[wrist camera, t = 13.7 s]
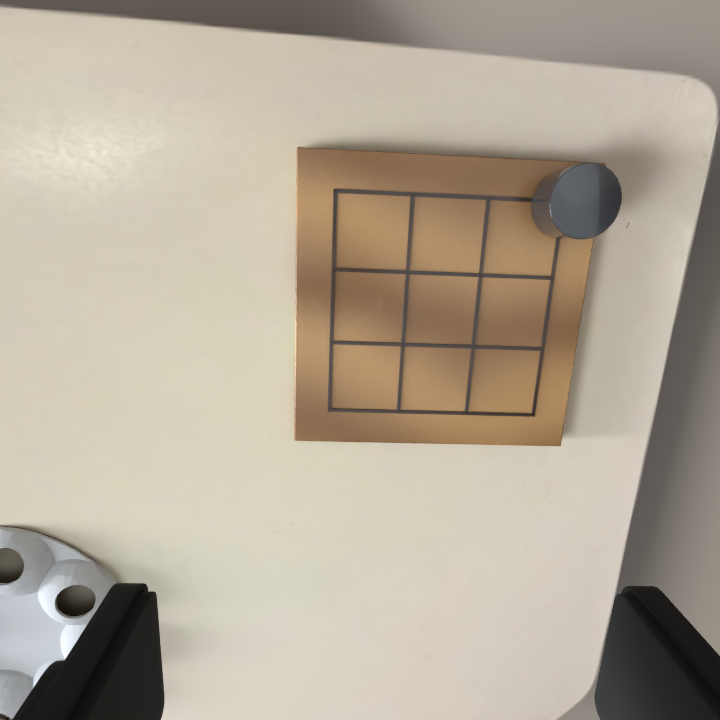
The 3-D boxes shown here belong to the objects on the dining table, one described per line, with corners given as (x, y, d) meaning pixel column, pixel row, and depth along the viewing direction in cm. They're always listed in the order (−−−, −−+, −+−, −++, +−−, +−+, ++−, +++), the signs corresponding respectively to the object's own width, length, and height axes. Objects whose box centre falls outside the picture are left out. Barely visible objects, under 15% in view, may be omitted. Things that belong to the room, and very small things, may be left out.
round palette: (183, 655, 41) (175, 676, 40) (5, 756, 43) (-11, 780, 42) (24, 482, 37) (6, 496, 35) (-167, 603, 39) (-194, 623, 37)
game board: (298, 150, 32) (296, 146, 30) (596, 165, 33) (607, 162, 31) (295, 434, 37) (294, 441, 35) (554, 440, 38) (561, 447, 37)
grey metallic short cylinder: (535, 166, 31) (555, 160, 28) (601, 170, 32) (628, 164, 29) (526, 237, 32) (545, 237, 30) (590, 240, 33) (615, 240, 30)
